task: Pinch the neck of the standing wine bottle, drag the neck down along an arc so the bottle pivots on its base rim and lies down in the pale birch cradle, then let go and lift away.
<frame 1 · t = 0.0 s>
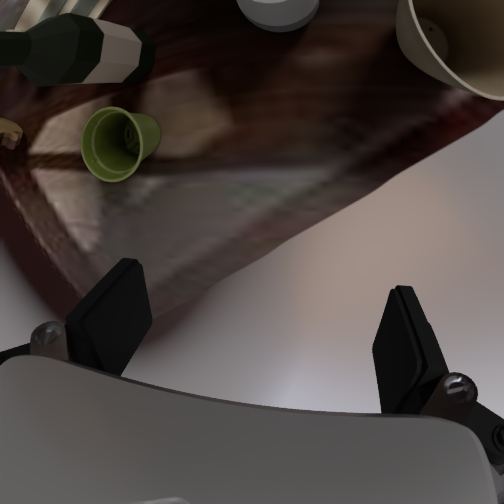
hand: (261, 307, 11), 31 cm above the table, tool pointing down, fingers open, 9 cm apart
smart speaker: (281, 5, 29), on the table
plant pot: (423, 43, 28), on the table
wooden carving: (12, 126, 42), on the table
wine bottle: (131, 57, 35), on the table
plant pot 2: (143, 135, 40), on the table
rest: (59, 9, 31), on the table
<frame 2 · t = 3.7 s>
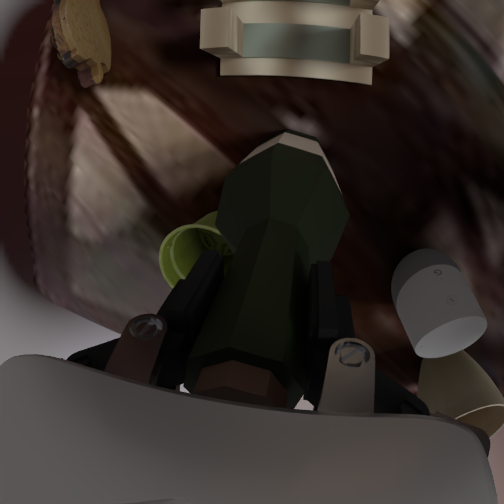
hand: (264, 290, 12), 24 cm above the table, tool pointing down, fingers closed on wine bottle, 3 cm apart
smart speaker: (419, 272, 37), on the table
plant pot: (440, 358, 43), on the table
wooden carving: (103, 33, 28), on the table
wine bottle: (292, 165, 34), on the table, touching gripper
plant pot 2: (222, 232, 39), on the table
when the fingers open (2 cm above the table, at t = 12.5 s): wine bottle stays where it is, resting on rest.
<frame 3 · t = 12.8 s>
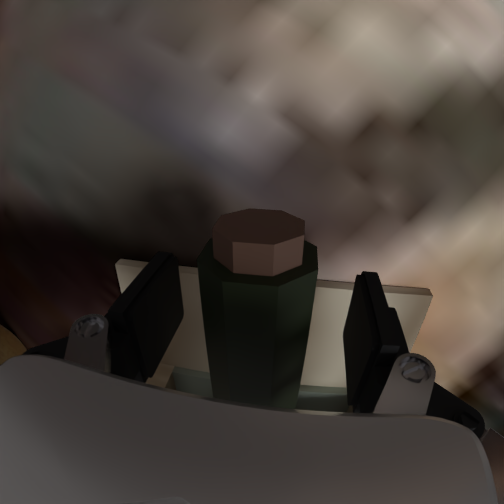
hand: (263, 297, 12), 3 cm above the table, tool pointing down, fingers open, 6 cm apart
wooden carving: (22, 345, 24), on the table
rest: (262, 400, 19), on the table
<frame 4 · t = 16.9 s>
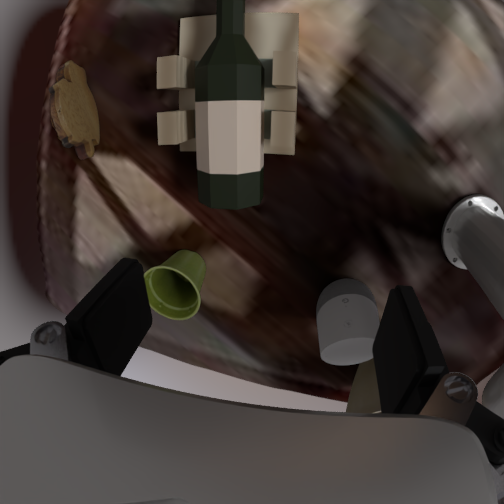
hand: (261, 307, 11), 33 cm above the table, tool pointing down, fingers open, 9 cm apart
smart speaker: (344, 296, 49), on the table
plant pot: (376, 364, 55), on the table
wooden carving: (92, 107, 41), on the table
wine bottle: (231, 200, 40), point 5 cm above the table, touching rest
plant pot 2: (189, 264, 51), on the table
rest: (236, 80, 37), on the table
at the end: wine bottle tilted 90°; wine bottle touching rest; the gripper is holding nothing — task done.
